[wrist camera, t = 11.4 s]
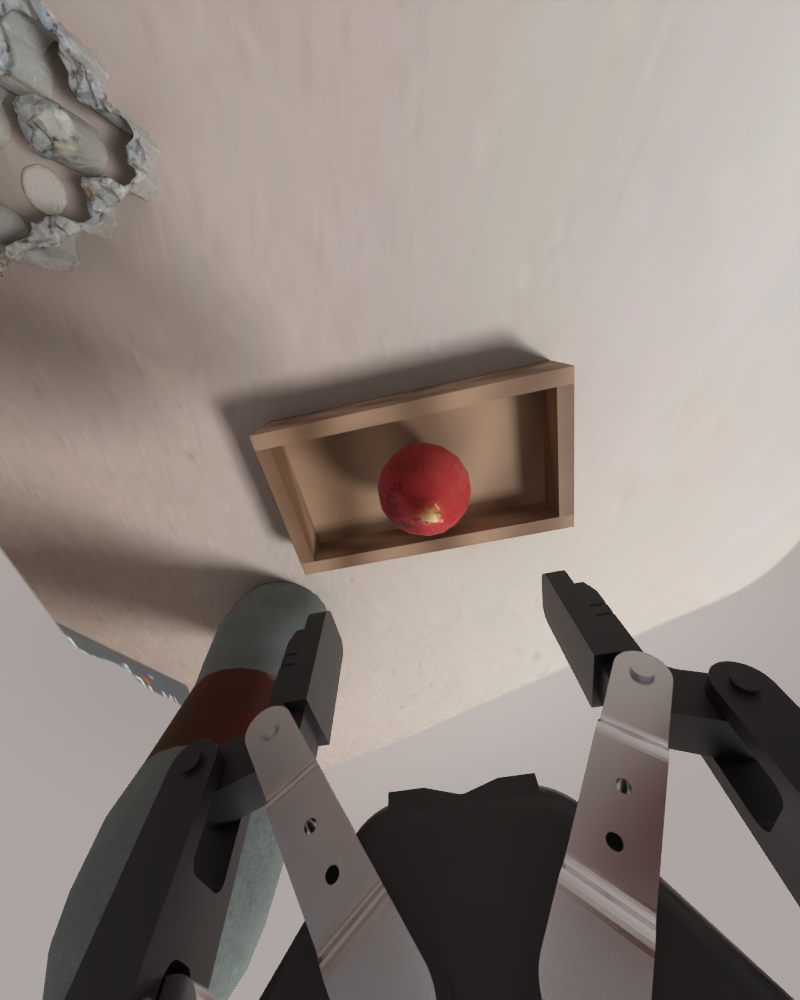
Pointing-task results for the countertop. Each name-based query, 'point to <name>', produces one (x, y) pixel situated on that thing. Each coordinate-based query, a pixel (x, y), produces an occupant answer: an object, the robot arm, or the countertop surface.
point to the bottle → (205, 714)
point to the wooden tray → (435, 420)
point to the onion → (424, 489)
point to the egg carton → (60, 139)
